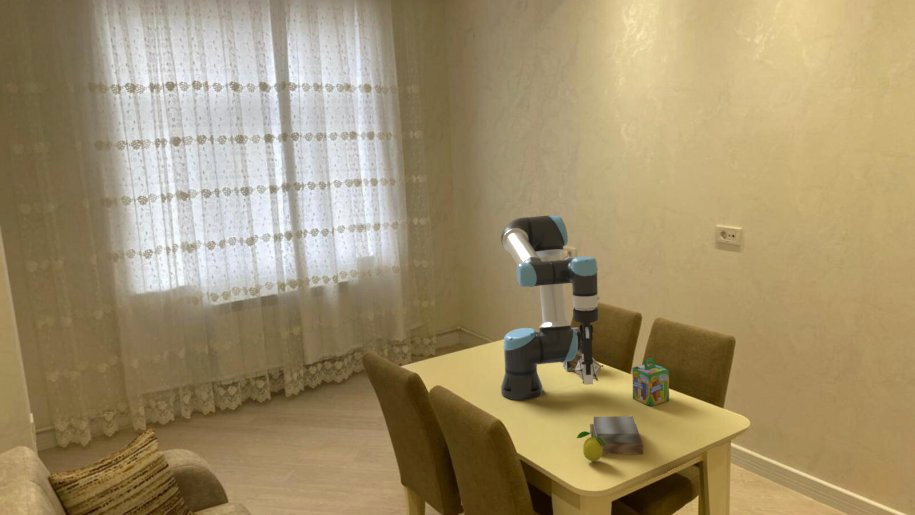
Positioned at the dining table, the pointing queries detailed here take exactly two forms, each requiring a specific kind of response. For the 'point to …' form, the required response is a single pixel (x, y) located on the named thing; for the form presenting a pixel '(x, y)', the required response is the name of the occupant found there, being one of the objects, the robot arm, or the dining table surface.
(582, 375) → the game die
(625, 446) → the tower base
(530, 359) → the robot arm
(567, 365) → the coffee box
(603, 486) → the dining table surface
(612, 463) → the dining table surface
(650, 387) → the chalk box
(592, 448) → the lemon
